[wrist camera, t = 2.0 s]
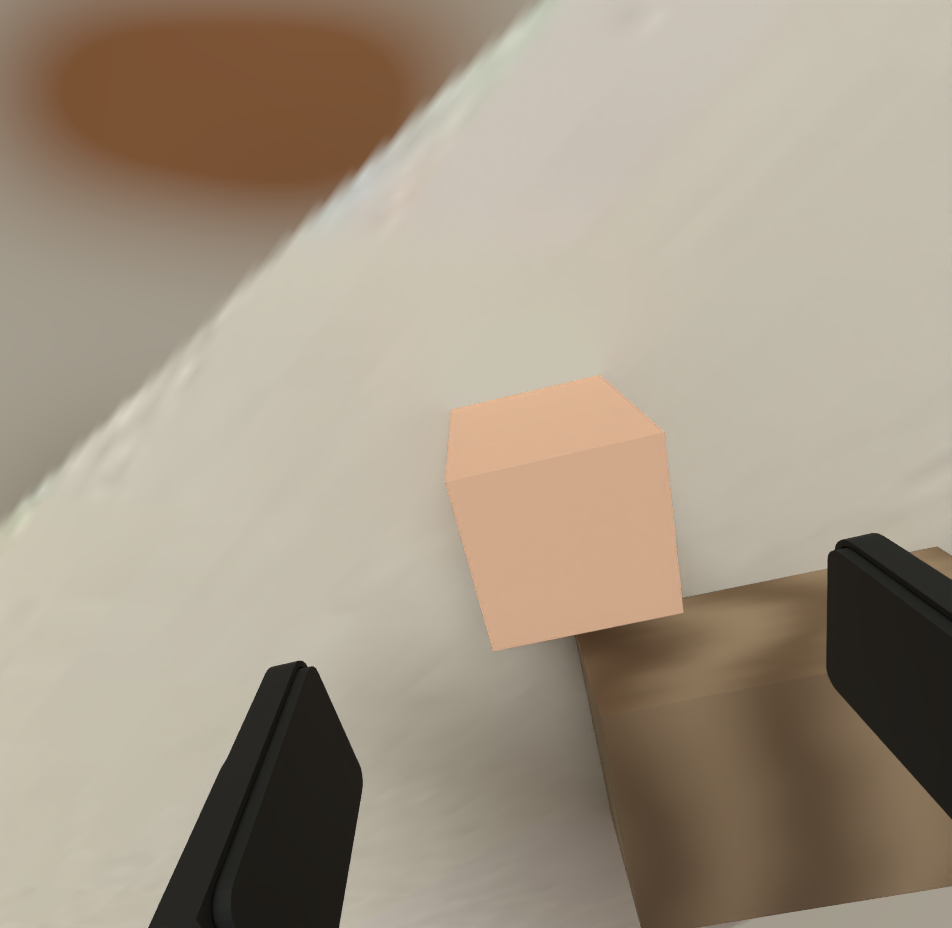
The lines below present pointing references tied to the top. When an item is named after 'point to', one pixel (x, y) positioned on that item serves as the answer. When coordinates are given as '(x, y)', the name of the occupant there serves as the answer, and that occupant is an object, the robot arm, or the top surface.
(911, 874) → the walnut plinth
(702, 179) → the top surface
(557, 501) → the peach block
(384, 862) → the top surface
